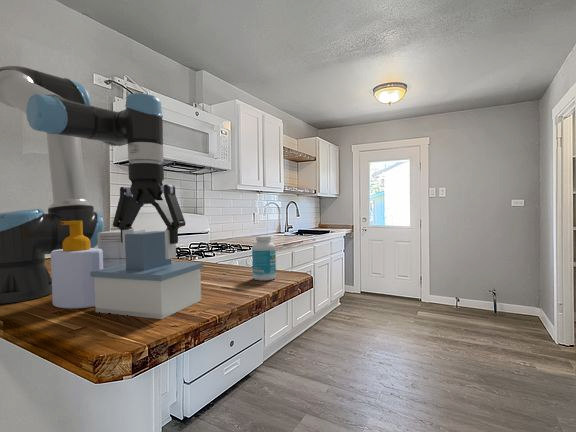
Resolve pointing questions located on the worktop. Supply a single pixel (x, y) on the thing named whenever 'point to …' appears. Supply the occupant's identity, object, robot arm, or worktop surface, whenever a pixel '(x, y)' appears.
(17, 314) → the worktop surface
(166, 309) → the tub
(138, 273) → the lid
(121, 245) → the supplement box
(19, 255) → the robot arm
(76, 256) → the soap bottle
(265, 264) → the pill bottle
